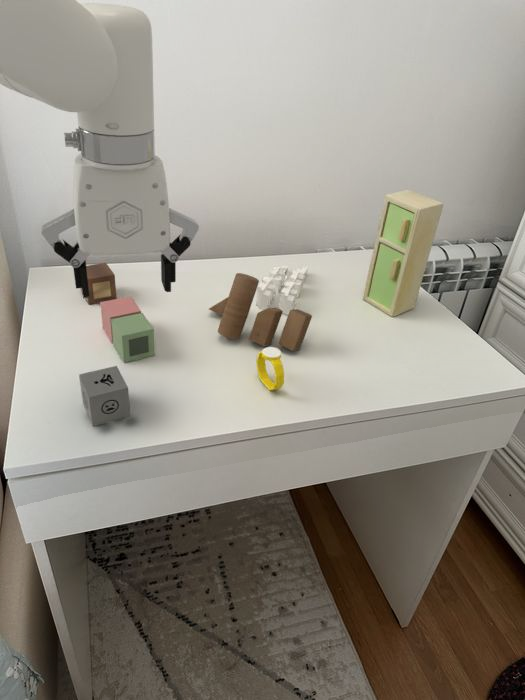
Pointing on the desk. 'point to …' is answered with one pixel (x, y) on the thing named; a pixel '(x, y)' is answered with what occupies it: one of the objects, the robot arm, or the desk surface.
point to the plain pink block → (116, 312)
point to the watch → (274, 357)
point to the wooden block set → (258, 317)
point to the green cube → (133, 337)
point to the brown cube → (100, 283)
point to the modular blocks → (276, 282)
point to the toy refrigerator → (401, 251)
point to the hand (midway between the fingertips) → (126, 289)
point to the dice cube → (105, 395)
